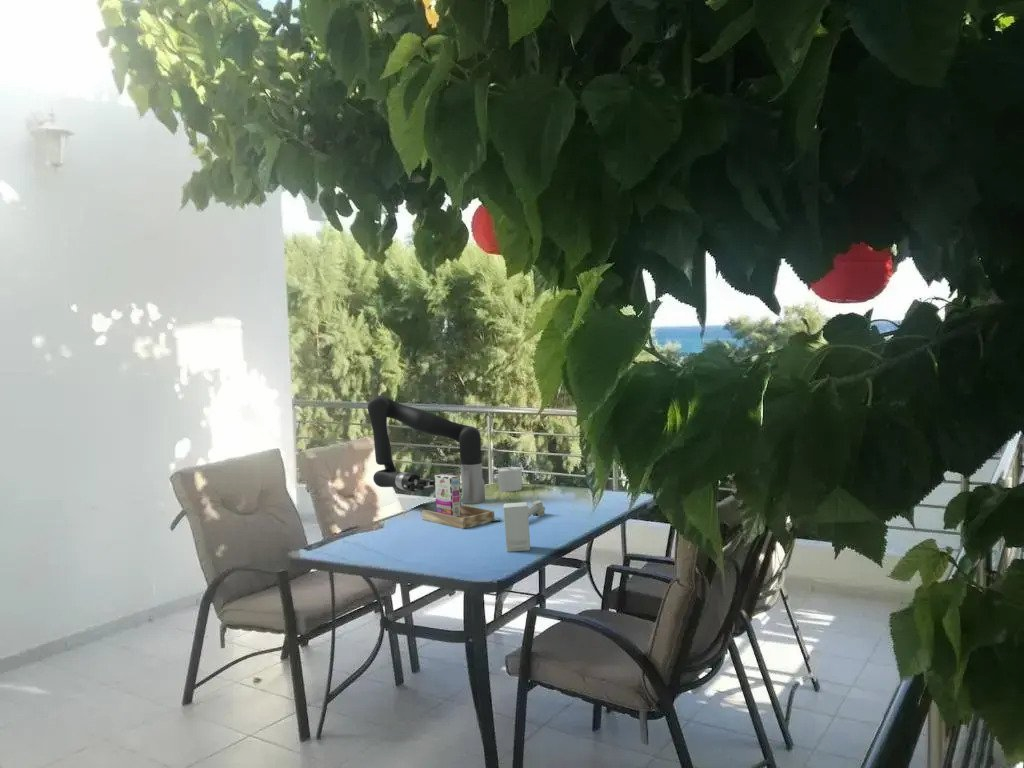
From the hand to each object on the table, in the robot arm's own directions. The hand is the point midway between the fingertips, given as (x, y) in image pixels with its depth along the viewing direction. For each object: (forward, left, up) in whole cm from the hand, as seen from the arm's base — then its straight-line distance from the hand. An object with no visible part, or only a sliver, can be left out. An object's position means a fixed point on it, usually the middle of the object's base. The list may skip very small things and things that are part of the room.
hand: (431, 486), depth 341 cm
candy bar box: (+1, +11, -11) cm, 16 cm away
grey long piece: (-16, +40, -12) cm, 45 cm away
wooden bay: (0, +17, -12) cm, 21 cm away
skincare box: (+15, +68, -12) cm, 71 cm away
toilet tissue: (-56, -13, -12) cm, 58 cm away
